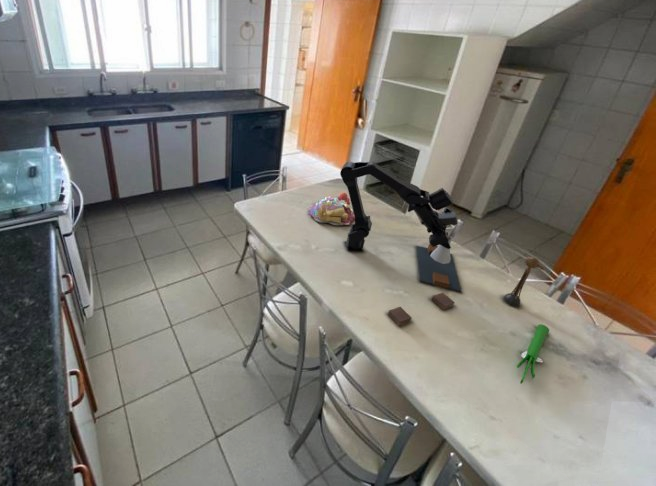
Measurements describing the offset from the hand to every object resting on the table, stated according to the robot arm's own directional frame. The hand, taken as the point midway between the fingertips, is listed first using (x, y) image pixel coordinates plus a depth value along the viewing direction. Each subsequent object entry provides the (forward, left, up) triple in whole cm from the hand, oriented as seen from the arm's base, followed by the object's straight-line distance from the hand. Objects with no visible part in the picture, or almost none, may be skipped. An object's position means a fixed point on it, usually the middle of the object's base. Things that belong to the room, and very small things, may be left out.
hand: (449, 246), depth 127 cm
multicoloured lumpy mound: (-36, +42, -12) cm, 56 cm away
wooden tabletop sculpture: (+18, -16, -12) cm, 28 cm away
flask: (-1, +1, -7) cm, 7 cm away
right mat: (-1, +2, -12) cm, 12 cm away
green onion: (+9, -38, -12) cm, 41 cm away
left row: (-18, -21, -12) cm, 30 cm away
